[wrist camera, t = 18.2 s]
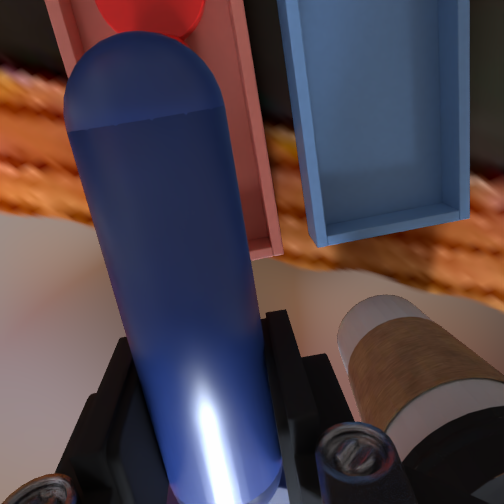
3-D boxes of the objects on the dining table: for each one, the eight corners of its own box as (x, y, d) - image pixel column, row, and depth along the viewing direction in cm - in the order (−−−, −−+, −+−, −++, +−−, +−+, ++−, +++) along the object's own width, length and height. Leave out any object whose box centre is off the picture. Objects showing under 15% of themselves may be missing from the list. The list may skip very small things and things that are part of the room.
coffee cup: (295, 319, 28) (372, 540, 14) (409, 252, 27) (615, 416, 13) (353, 405, 31) (468, 662, 17) (459, 346, 30) (675, 567, 16)
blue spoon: (12, 63, 9) (-80, 48, 6) (270, 21, 9) (293, -13, 6) (177, 583, 14) (168, 698, 11) (337, 555, 14) (364, 661, 11)
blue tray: (308, 234, 26) (317, 248, 24) (258, -132, 20) (263, -162, 18) (447, 208, 26) (470, 218, 24) (440, -165, 20) (470, -200, 18)
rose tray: (137, 267, 26) (130, 284, 24) (33, -90, 20) (9, -116, 18) (278, 240, 26) (284, 254, 24) (218, -124, 20) (218, -154, 18)
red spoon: (251, 229, 25) (255, 245, 23) (164, 246, 25) (158, 263, 23) (193, -83, 20) (189, -110, 17) (83, -63, 20) (62, -87, 17)
